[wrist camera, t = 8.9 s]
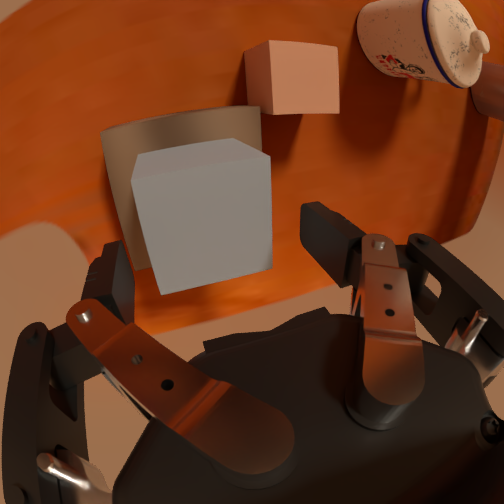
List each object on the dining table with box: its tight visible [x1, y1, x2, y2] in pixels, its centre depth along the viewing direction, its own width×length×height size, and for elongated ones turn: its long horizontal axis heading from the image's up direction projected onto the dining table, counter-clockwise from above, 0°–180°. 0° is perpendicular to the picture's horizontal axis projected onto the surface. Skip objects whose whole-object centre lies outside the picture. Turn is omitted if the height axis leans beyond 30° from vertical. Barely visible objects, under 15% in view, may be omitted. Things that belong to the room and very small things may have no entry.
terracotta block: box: [244, 40, 339, 115], centre depth 17 cm, size 5×5×5 cm
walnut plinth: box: [100, 105, 262, 271], centre depth 19 cm, size 10×10×4 cm
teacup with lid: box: [357, 0, 490, 88], centre depth 14 cm, size 12×9×12 cm
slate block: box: [131, 138, 272, 295], centre depth 15 cm, size 6×6×6 cm
